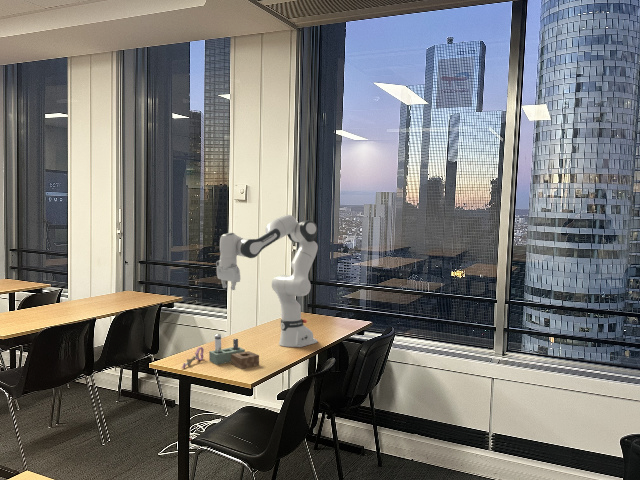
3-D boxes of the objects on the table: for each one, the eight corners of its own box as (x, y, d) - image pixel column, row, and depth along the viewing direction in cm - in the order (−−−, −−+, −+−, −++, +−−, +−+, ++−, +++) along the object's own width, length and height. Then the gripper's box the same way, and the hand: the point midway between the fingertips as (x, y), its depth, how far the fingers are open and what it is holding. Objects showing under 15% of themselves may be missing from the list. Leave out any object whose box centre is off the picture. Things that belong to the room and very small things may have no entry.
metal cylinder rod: (219, 360, 277) (219, 333, 276) (222, 361, 275) (222, 334, 274) (214, 361, 275) (213, 334, 274) (217, 363, 273) (216, 335, 272)
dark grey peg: (236, 357, 283) (236, 338, 282) (239, 358, 281) (238, 339, 280) (232, 358, 281) (232, 339, 281) (235, 359, 279) (234, 340, 279)
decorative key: (181, 375, 263) (202, 357, 282) (183, 375, 263) (204, 357, 281) (179, 362, 262) (201, 345, 280) (181, 362, 261) (203, 345, 280)
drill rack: (237, 355, 286) (237, 346, 286) (244, 359, 280) (244, 349, 279) (209, 361, 276) (209, 351, 276) (216, 364, 270) (216, 354, 270)
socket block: (248, 360, 277) (248, 351, 276) (259, 365, 269) (259, 355, 268) (231, 364, 270) (231, 354, 270) (241, 369, 263) (241, 358, 262)
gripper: (243, 264, 285) (243, 290, 286) (224, 261, 301) (225, 286, 302) (232, 265, 281) (232, 291, 282) (214, 262, 298) (214, 287, 298)
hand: (228, 288), depth 292 cm, fingers open, 8 cm apart
